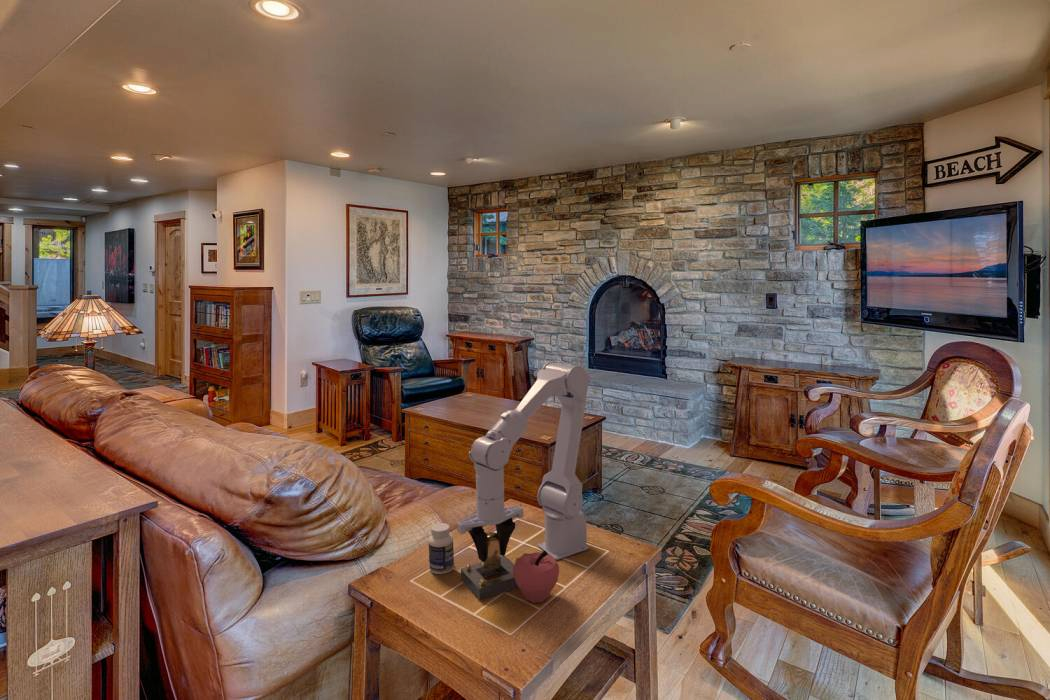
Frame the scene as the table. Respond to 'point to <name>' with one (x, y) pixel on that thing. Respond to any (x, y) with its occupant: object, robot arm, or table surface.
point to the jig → (486, 589)
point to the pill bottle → (441, 549)
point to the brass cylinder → (492, 551)
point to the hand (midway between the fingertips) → (492, 556)
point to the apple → (536, 575)
